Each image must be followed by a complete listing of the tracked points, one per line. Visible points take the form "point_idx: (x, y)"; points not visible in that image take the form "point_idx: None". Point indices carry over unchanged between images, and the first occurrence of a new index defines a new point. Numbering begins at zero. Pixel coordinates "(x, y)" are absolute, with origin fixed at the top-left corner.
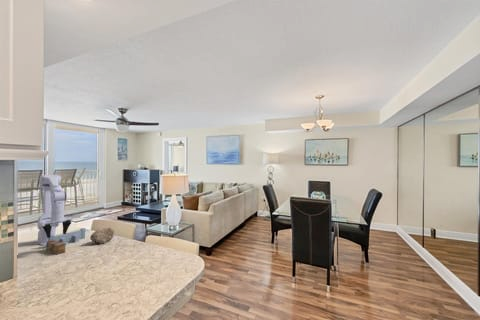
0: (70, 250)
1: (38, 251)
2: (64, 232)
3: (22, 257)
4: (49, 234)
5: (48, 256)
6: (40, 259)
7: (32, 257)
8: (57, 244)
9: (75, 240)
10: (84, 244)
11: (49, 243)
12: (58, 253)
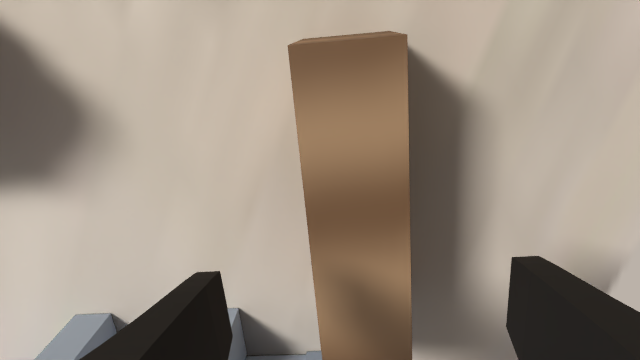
0: (233, 59)
1: (450, 330)
2: (210, 309)
3: (616, 278)
4: (590, 291)
5: (477, 64)
6: (577, 31)
7: (575, 191)
8: (382, 124)
9: (98, 328)
10: (48, 149)
11: (410, 300)
12: (382, 32)
